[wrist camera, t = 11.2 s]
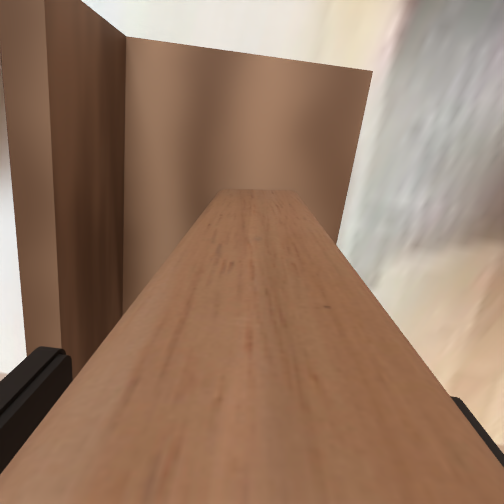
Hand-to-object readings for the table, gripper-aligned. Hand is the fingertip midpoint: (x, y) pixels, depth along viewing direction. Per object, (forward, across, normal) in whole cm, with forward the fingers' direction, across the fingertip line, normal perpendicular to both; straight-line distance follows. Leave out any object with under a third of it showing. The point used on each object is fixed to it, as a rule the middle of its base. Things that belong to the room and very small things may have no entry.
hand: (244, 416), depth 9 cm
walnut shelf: (+17, +2, 0) cm, 17 cm away
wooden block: (+12, 0, 0) cm, 12 cm away
